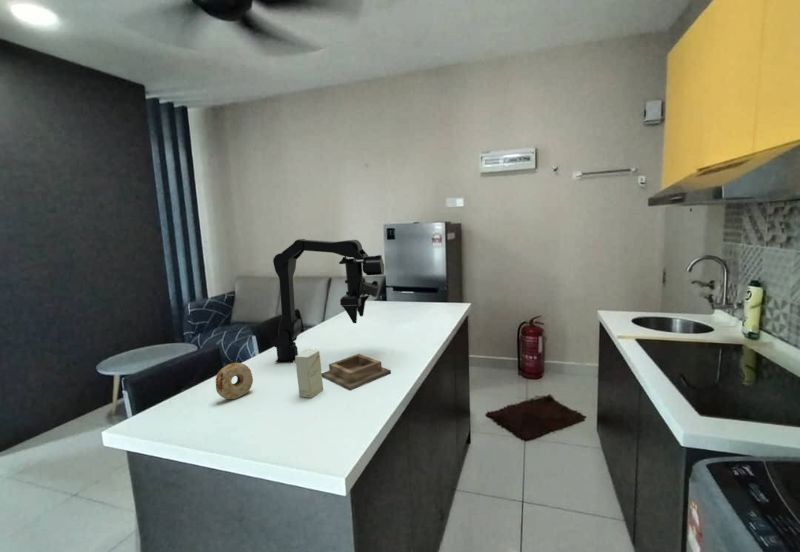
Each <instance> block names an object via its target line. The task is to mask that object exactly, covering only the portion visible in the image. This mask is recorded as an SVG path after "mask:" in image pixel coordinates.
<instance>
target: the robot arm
mask: <svg viewBox="0 0 800 552" xmlns="http://www.w3.org/2000/svg"><path fill="white" fill-rule="evenodd" d="M304 251H305V252H321V253H332V254H336V255H338V256H340V257H341V256H342V259H341V260H340V261H339V262H338V263H339V265H345V275H346V276H345V277H346V279H345V280H344V284H346V287H347V290H346V292H345V295H343V296H342V297H341V298H340V300H339V301H340V302H339V303H340V306H341V307H342V308H343V309H344V311H345V312H346V314H347V315H348V318H350V321H351V322H352V324H357V320H358V315H359V317H363V316H364V313H365V306H366V301H367V300H368V299H369V298H370V296H371V297H374V298H376V297H378V296H379V293H380V291H381V285H380V284H379V281H378V280H372V282H367V281H366V278H365V277H364V274H365V275H366V276H383V275H384V273H385V263H384V259H383V257H382V254H377V255H369V254H368V253H367V252H366V251H365V250H364V249H363V246H362V243H361V242H360V240H357V239H350V240H349V239H346V240H340V241H338V240H337V241H330V240H329V241H328V240H316V239H315V240H314V239H306V238H301V239H300V238H299V239H295V241H294V242H293V243H292V244H290V246H288V247H287V248H286V249H284V250H283V251H282V252H280V253H276V254H275V256H274V257H273V259H272V263H273V267H274V271H275V274H276V275H277V276H278V279H279V292H280V305H281V306H280V309H281V318H280V322H279V325H278V330H277V331H278V332H277V334H278V335H277V336H276V337H275V338H274V340H273V341H272V344H273V346H274V348H276V354H277V355H276V356H277V359H276V360H275V363H293V362H295V361H296V360H295V356H297V355H299V352H298V346H297V345H296V341H297V338H298V336H299V335H300V334H301V331H302V330H303V328H302V318H299V319H298V317H297V316H296V308H295V291H294V274H295V272H296V268H297V260H298V259H299V258H300V257H301V256H302V254H303V253H304ZM363 273H364V274H363Z"/></svg>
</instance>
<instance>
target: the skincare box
mask: <svg viewBox="0 0 800 552" xmlns="http://www.w3.org/2000/svg"><path fill="white" fill-rule="evenodd" d="M294 361H295V367H296V377H297V386H298V395H299V397H301V398H302V397H303V398H309V399H311V398H313V397H314V396H316V395H317V394H319V393H320V392H323V390H324V385H323V383H324V382H323V377H322V373H323V372H322V366H321V364H322V363H321V355H320V350H317V349H315V350H314V349H307V350H304V351H303V352H300V353H298V355H297V356H295V360H294Z"/></svg>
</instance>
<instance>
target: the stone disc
mask: <svg viewBox="0 0 800 552" xmlns="http://www.w3.org/2000/svg"><path fill="white" fill-rule="evenodd" d="M234 377H236V378H237V380H236V382H235V383H232V379H234ZM253 383H254V377H253V374H252V370H251V369H250V368H249V366H247V365H246V364H245V363H242V362H233V363H229V364H227V365H225V366H224V367H222V368H221V369H220V370H219V371H218V372H217V374H216V377H215V390H216V393H217V394H218V395H219V397H222V398H224V399H226V400H235V399H238V398H241V397H242V396H244V395H245V394H247V393H248V392H249V391H250V389H251V388H252V385H253Z"/></svg>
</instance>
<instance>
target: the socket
mask: <svg viewBox="0 0 800 552" xmlns="http://www.w3.org/2000/svg"><path fill="white" fill-rule="evenodd" d="M328 367H329V370H327V371H324V372H321V373H322V378H324V379H326V380H329V381H330V382H332V383H334V384H336V385H338V386H340V387H342V388H344V389H346V390H348V391H352V390H354V389H357V388H358V387H361V386H364V385H366V384H369V383H371V382H373V381H375V380H376V381H377V380H378V379H380V378H383V377H386V376H388V375H390V374H391V373H392V371H391V369H388V368H386V367H383V366H382V361H380V360H378V359H375V358H371V357H369V356H366V355H365V354H364V355H363V354H360V353H358V354H354V355H352V356H348V357H346V358H343V359H341V360H337V361H334V362H332V363H328Z"/></svg>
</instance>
